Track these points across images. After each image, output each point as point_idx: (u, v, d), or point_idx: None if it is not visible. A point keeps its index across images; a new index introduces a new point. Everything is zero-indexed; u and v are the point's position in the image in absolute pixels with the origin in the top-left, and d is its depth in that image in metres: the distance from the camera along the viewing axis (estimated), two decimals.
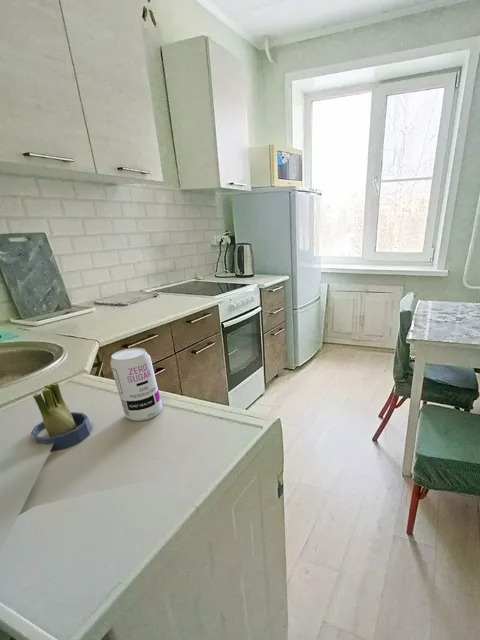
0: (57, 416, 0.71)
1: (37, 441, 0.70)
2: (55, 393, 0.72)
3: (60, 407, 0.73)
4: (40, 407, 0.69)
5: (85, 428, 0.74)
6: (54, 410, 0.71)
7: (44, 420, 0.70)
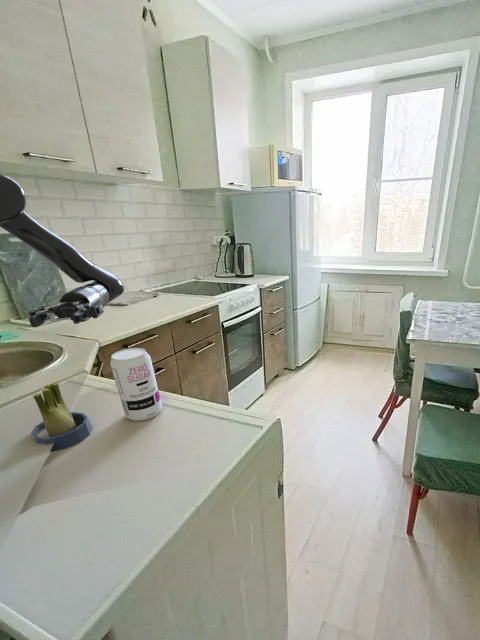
0: (57, 416, 0.71)
1: (37, 441, 0.70)
2: (55, 393, 0.72)
3: (60, 407, 0.73)
4: (40, 407, 0.69)
5: (85, 428, 0.74)
6: (54, 410, 0.71)
7: (44, 420, 0.70)
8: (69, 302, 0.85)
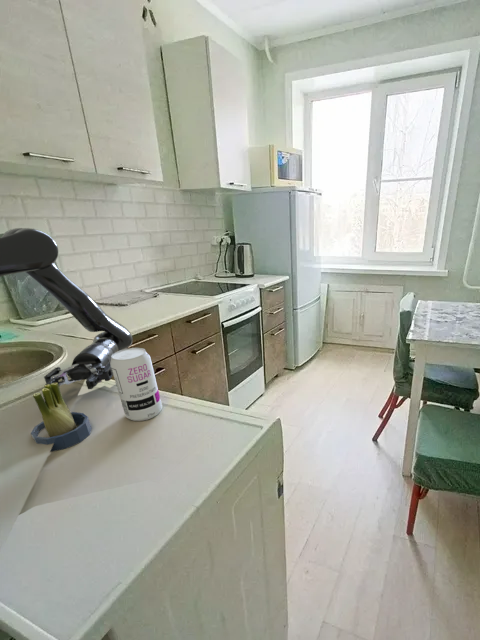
0: (57, 416, 0.71)
1: (37, 441, 0.70)
2: (55, 393, 0.72)
3: (60, 407, 0.73)
4: (40, 407, 0.69)
5: (85, 428, 0.74)
6: (54, 410, 0.71)
7: (44, 420, 0.70)
8: (82, 363, 0.88)
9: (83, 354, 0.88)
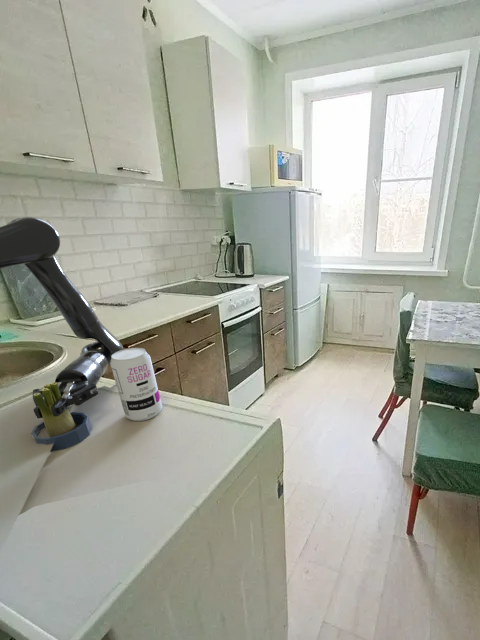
0: (57, 416, 0.71)
1: (37, 441, 0.70)
2: (55, 393, 0.72)
3: None
4: (40, 407, 0.69)
5: (85, 428, 0.74)
6: None
7: (44, 420, 0.70)
8: (65, 380, 0.80)
9: (67, 371, 0.79)
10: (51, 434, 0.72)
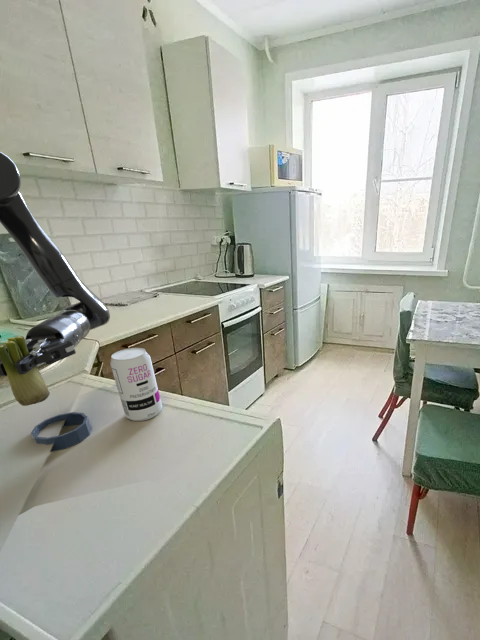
0: (25, 375, 0.60)
1: (37, 441, 0.70)
2: (21, 348, 0.61)
3: None
4: (4, 362, 0.58)
5: (85, 428, 0.74)
6: None
7: (10, 379, 0.59)
8: (38, 338, 0.69)
9: (39, 327, 0.68)
10: (18, 396, 0.60)
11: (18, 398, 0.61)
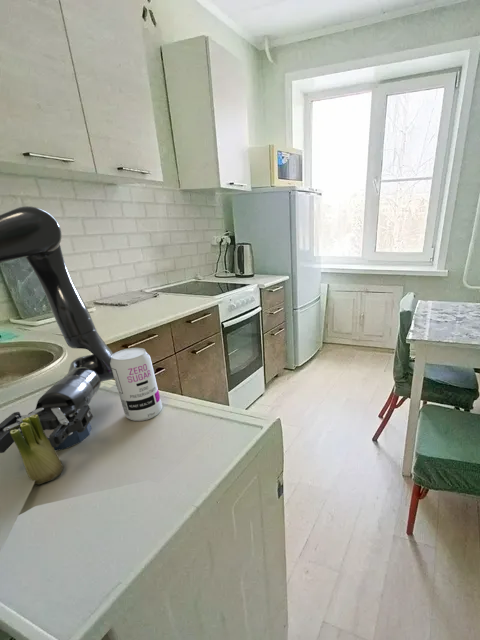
0: (40, 455, 0.60)
1: None
2: (35, 427, 0.60)
3: (42, 443, 0.61)
4: (19, 446, 0.57)
5: None
6: (36, 448, 0.59)
7: (24, 461, 0.58)
8: (49, 405, 0.67)
9: (50, 394, 0.67)
10: (33, 477, 0.60)
11: (32, 478, 0.60)
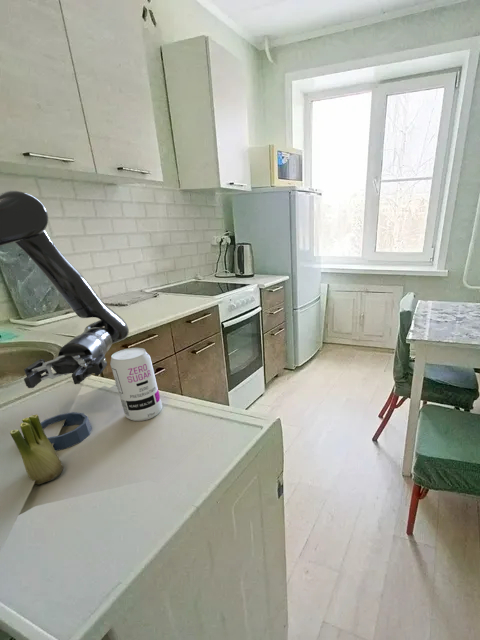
0: (40, 455, 0.60)
1: None
2: (35, 427, 0.60)
3: (42, 443, 0.61)
4: (19, 446, 0.57)
5: (85, 428, 0.74)
6: (36, 448, 0.59)
7: (24, 461, 0.58)
8: (69, 354, 0.77)
9: (71, 344, 0.77)
10: (33, 477, 0.60)
11: (32, 478, 0.60)
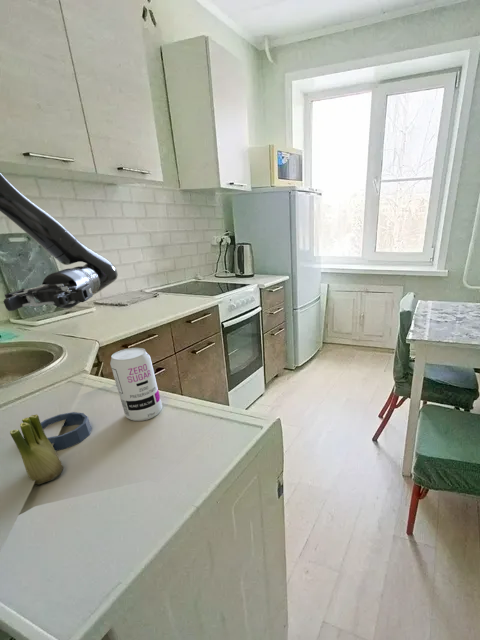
0: (40, 455, 0.60)
1: None
2: (35, 427, 0.60)
3: (42, 443, 0.61)
4: (19, 446, 0.57)
5: (85, 428, 0.74)
6: (36, 448, 0.59)
7: (24, 461, 0.58)
8: (53, 285, 0.74)
9: (54, 274, 0.74)
10: (33, 477, 0.60)
11: (32, 478, 0.60)
